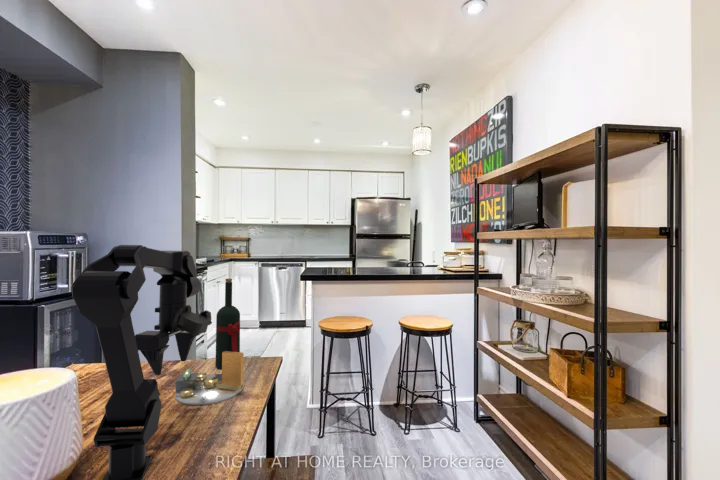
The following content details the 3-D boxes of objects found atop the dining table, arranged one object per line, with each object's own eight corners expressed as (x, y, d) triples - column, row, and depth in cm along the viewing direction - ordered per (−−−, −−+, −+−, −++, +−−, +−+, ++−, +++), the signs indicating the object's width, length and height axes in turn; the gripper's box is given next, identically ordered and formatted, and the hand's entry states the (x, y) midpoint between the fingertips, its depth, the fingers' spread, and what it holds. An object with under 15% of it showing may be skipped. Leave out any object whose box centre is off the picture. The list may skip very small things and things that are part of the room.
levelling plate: (242, 400, 90) (242, 379, 90) (167, 409, 84) (168, 387, 84) (244, 374, 107) (245, 357, 107) (182, 380, 101) (183, 362, 101)
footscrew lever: (201, 386, 94) (201, 351, 94) (209, 381, 98) (210, 347, 98) (238, 391, 91) (238, 355, 92) (245, 385, 95) (245, 351, 95)
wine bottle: (224, 373, 107) (225, 281, 107) (211, 364, 114) (212, 278, 114) (247, 367, 113) (248, 279, 113) (233, 359, 120) (234, 276, 120)
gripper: (179, 310, 70) (177, 385, 69) (224, 297, 88) (223, 356, 88) (130, 309, 71) (128, 382, 70) (185, 296, 89) (183, 354, 89)
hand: (171, 367), depth 79 cm, fingers open, 9 cm apart
